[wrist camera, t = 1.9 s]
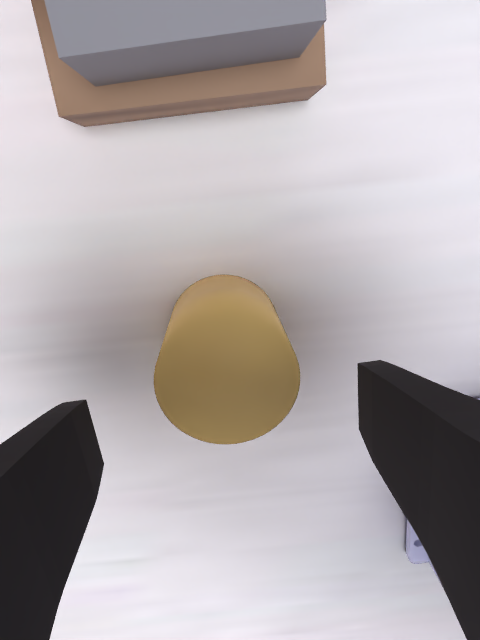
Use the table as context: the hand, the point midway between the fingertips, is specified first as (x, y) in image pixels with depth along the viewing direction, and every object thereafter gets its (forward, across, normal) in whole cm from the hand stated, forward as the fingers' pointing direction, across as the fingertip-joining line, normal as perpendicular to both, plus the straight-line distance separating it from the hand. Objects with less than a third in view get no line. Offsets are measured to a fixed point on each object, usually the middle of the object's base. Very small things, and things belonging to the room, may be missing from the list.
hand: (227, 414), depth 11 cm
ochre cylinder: (+7, 0, 0) cm, 7 cm away
